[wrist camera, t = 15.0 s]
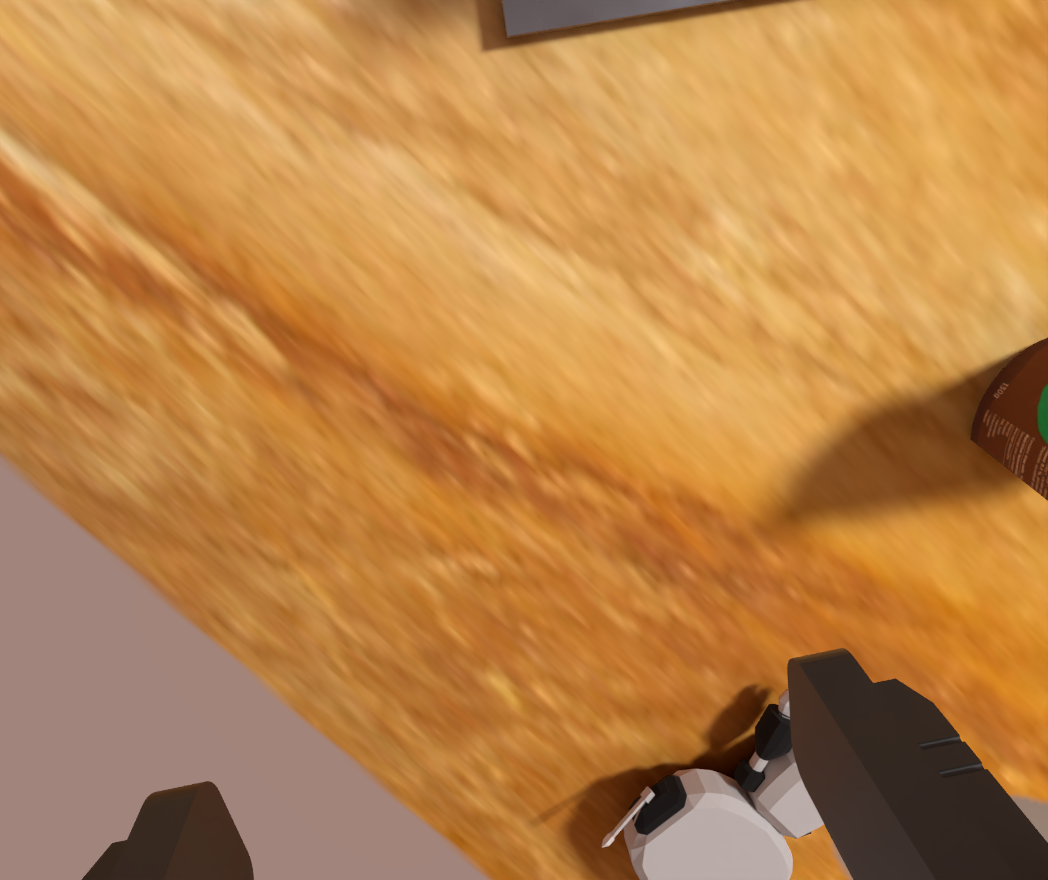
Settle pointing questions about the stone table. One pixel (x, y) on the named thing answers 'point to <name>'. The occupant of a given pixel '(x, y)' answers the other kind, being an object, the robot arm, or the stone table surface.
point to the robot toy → (724, 815)
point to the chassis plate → (583, 12)
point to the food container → (1018, 417)
